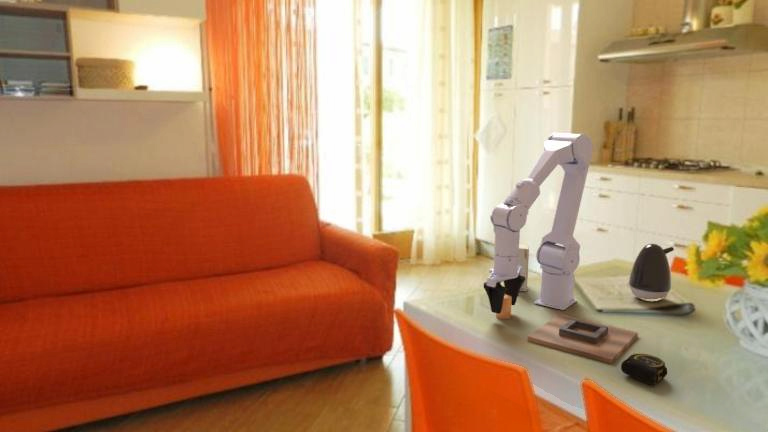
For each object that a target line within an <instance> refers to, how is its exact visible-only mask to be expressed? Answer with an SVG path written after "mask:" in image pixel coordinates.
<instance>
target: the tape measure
mask: <svg viewBox="0 0 768 432" xmlns="http://www.w3.org/2000/svg"><path fill="white" fill-rule="evenodd" d="M620 364H621V365H620V370H621V371H622V373H624V374H626V375H627V376H629V377H632V378H634V379H637V380H638V381H642V382H644V383H646V384H649V385H651V386H655V385H657V384H658V383H659V382H660V383H661V382H663V380H664V379H665V378H666V376H667V375H668V368H667V366H666V363H665V361H664V360H663V359H661V358H659V357H658V356H655V355H651V354H647V353H633V354H631V355H630V356H628V357H627V358H626V359H624V360H623V361H622V362H621V363H620Z"/></svg>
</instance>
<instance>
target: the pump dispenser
mask: <svg viewBox="0 0 768 432" xmlns="http://www.w3.org/2000/svg"><path fill="white" fill-rule="evenodd" d="M674 251H675V249H674V247H673V246H670V247H666V248H663V247H661V245H659V244H657V243H648V244H646V245H645V246H643V247H642V248H641V250H640V251H639V252H638V254H637V256H636V258H635V260H634V262H633V266H632V267H631V270H630V275H629V281H628V285H629V287H630V291H631V293H632V294H633V296H634V295H635V296H636V297H635V296H634V297H635V298H637V297H639V298H644V299H658V298H663V297H665V298H666V297H667V296H668V295H669V292H670V291H671V289H672V273H671V267H670V262H669V259H668V256H667V254H669V253H671V252H674Z"/></svg>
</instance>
